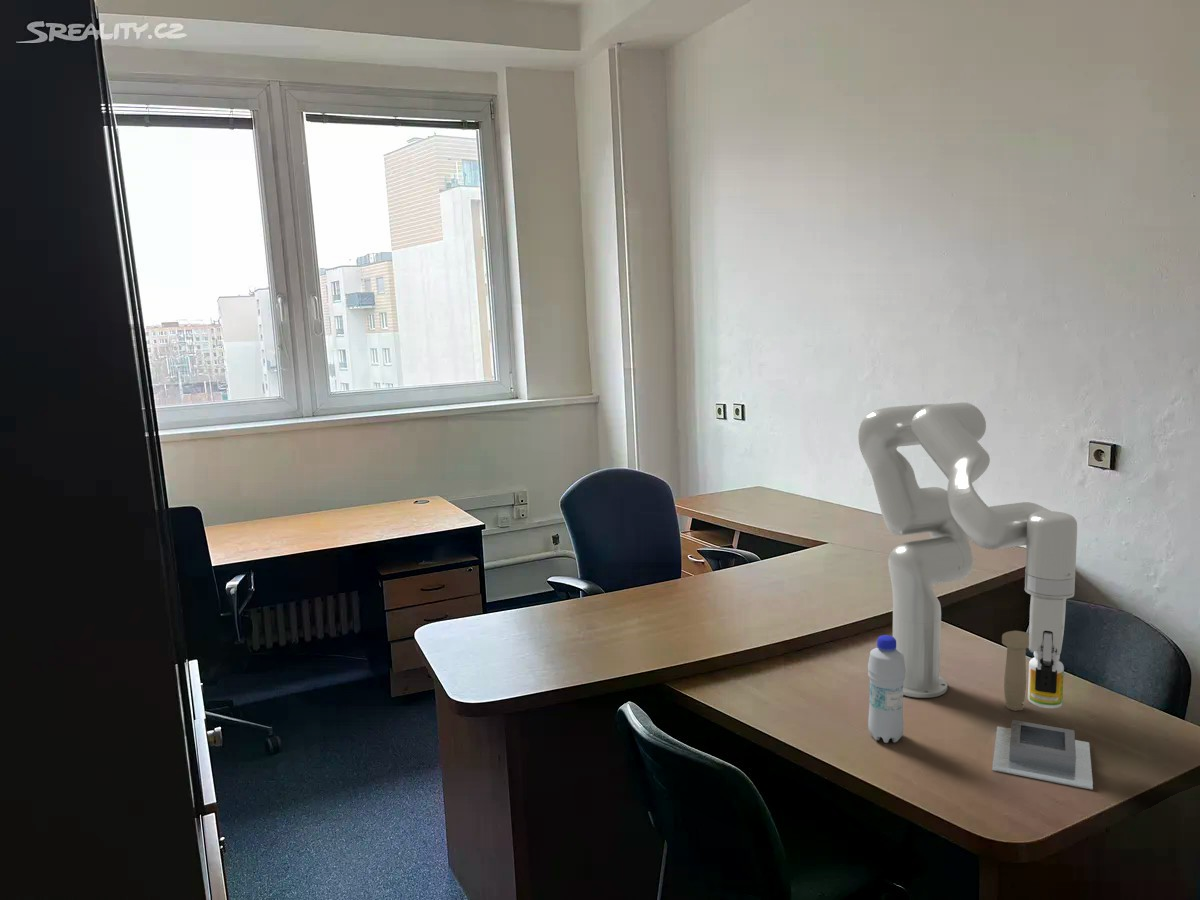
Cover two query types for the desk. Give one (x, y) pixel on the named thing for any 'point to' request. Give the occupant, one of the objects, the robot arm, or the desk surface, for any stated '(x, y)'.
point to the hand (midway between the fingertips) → (1045, 683)
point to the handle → (1015, 668)
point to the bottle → (886, 690)
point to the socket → (1043, 754)
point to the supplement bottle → (1044, 697)
